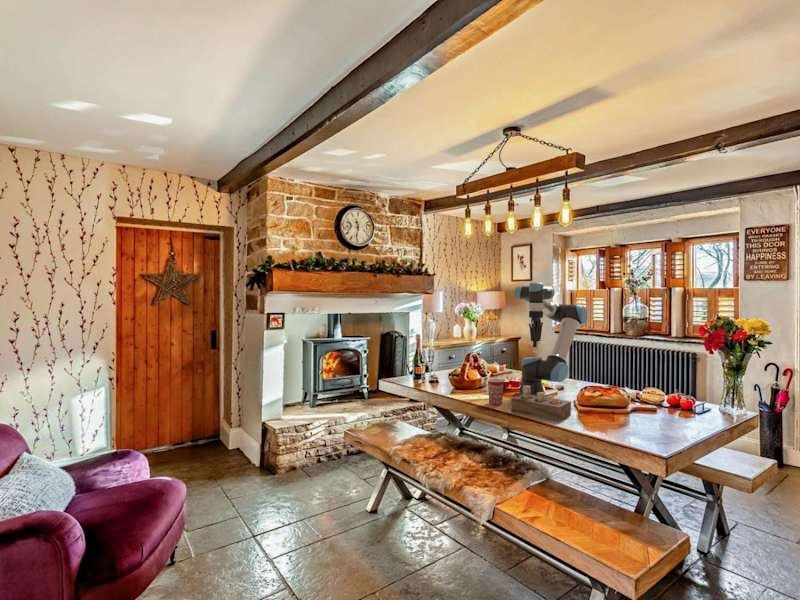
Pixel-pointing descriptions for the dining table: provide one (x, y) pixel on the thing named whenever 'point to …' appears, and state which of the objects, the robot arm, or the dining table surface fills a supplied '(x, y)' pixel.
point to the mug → (496, 391)
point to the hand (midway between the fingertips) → (535, 352)
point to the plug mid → (540, 396)
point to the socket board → (541, 407)
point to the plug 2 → (555, 400)
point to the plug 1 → (526, 392)
